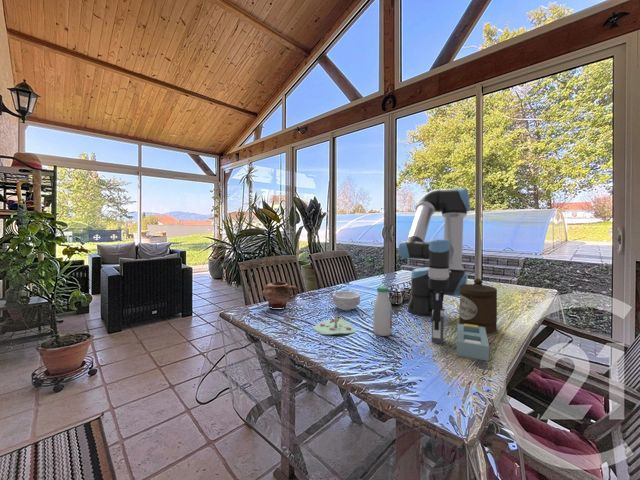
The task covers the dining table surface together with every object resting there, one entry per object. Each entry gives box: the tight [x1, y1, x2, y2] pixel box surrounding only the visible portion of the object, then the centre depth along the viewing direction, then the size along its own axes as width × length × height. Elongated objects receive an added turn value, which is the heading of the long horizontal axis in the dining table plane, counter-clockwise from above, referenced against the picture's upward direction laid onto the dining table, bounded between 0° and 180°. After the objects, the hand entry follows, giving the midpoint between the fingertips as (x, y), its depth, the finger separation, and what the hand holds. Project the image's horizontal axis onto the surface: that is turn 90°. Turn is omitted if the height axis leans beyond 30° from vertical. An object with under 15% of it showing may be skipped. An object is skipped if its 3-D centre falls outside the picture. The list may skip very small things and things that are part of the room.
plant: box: [312, 309, 357, 336], centre depth 133 cm, size 25×21×9 cm
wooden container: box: [458, 278, 498, 334], centre depth 129 cm, size 15×15×22 cm
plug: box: [431, 309, 445, 345], centre depth 114 cm, size 4×4×12 cm
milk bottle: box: [372, 285, 393, 337], centre depth 123 cm, size 8×8×20 cm
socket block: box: [456, 323, 490, 362], centre depth 109 cm, size 10×20×5 cm, turn 154°
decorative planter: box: [261, 281, 299, 308], centre depth 161 cm, size 20×12×14 cm, turn 105°
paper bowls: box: [332, 290, 361, 311], centre depth 159 cm, size 15×15×8 cm
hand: (437, 332), depth 114 cm, fingers open, 11 cm apart
